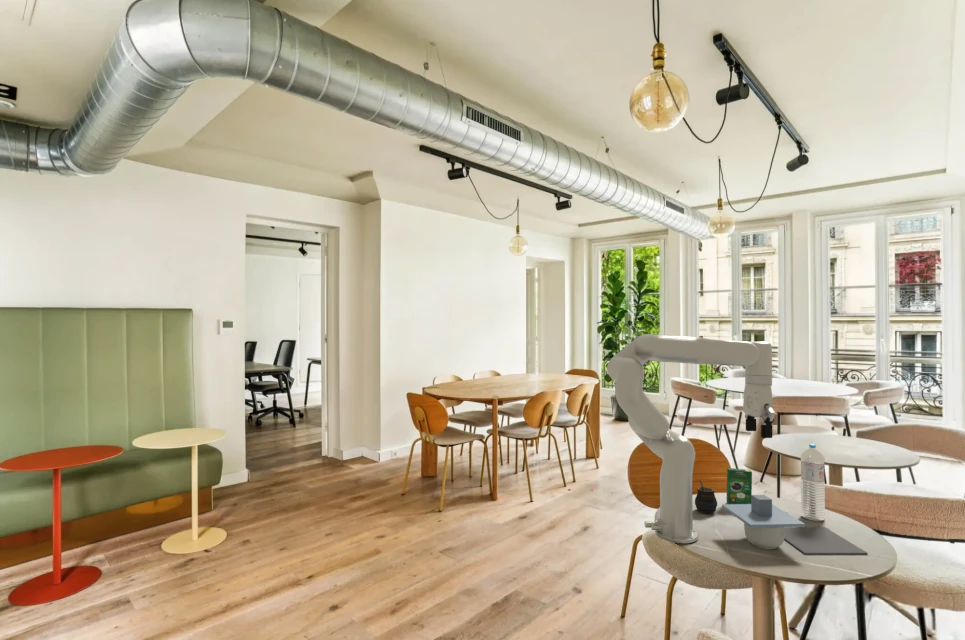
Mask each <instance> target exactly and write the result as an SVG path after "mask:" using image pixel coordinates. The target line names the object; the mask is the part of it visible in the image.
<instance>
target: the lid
mask: <svg viewBox="0 0 965 640" xmlns="http://www.w3.org/2000/svg"><path fill="white" fill-rule="evenodd" d="M721 507H722V508H723V509H724V510H725V511H727V512H728V513H730V514H731V515H732V516H734V517H736V518H737V519H738V520H740V521H741V522H743V524H744V523H745V524H747V525H748V526H749V527H751V528H752V527H806V523H804V522H803V521H801V520H799V518H796V517H794V516H793V515H791V514H789V513H788V512H786V511H785V510H782V509H781V508H780V507H777V506H776V505H774V504H773V499H772V498H770V497H769V496H766V494H752V495H751V504H727V503H725V504H723V503H722V505H721Z"/></svg>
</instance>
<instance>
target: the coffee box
mask: <svg viewBox="0 0 965 640" xmlns="http://www.w3.org/2000/svg"><path fill="white" fill-rule="evenodd" d="M752 487H753V472H752V470H751V469H743V468H742V469H741V468H734V467H731V468H730V467H727V469H726V504H751V495H753V494H752V490H753V488H752Z"/></svg>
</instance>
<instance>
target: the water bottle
mask: <svg viewBox="0 0 965 640" xmlns="http://www.w3.org/2000/svg"><path fill="white" fill-rule="evenodd" d="M808 446H809V447H808V449H806V450H804V451H803V452H802V453H801V455H800V461H801V462H800V464H801V465H800V467H801V468H800V469H801V470H800V513H801V514H800V515H801V517H802V518H804V519H806V520H808V521H811V522H812V521H814V522H823V521H824V520H825V517H826V509H825V508H826V503H825V502H826V501H825V500H826V493H825V492H826V491H825V490H826V487H825V486H826V485H825V483H826V481H825V462H826V461H825V457H824V456H823V454H822V453H821V452H820V451H819V450H817V449H816V447H817V445H816V444H813V443H809V445H808Z"/></svg>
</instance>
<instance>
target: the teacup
mask: <svg viewBox="0 0 965 640" xmlns="http://www.w3.org/2000/svg"><path fill="white" fill-rule="evenodd" d="M743 528H744V534H745V535H744V536H745V538H746V539H747V540H748V541H749V542H750V543H751V544H752V545H754V546H755V547H757V548H759V549H764V550H775V549H777V548H779V547H780V546H782V545H783V543H784V541H785V540H784V527H752V528H751V527H749V526H748V525H747V524H745V523H744V522H743Z"/></svg>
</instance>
